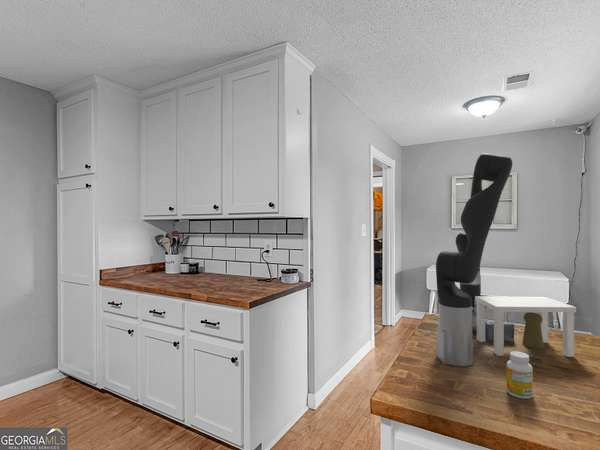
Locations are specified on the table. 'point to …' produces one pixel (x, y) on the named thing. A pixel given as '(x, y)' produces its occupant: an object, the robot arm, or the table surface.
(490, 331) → the steel crook
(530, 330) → the cork
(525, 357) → the supplement bottle
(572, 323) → the low table
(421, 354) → the table surface
